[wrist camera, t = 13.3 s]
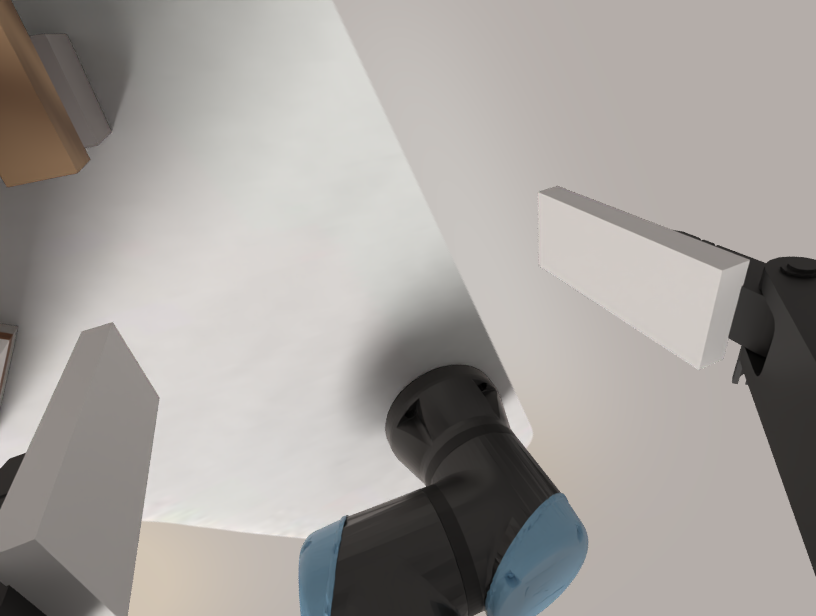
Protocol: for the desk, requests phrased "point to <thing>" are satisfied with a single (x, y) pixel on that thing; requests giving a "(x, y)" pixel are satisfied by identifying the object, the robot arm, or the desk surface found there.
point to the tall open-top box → (6, 353)
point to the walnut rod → (31, 112)
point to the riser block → (72, 87)
